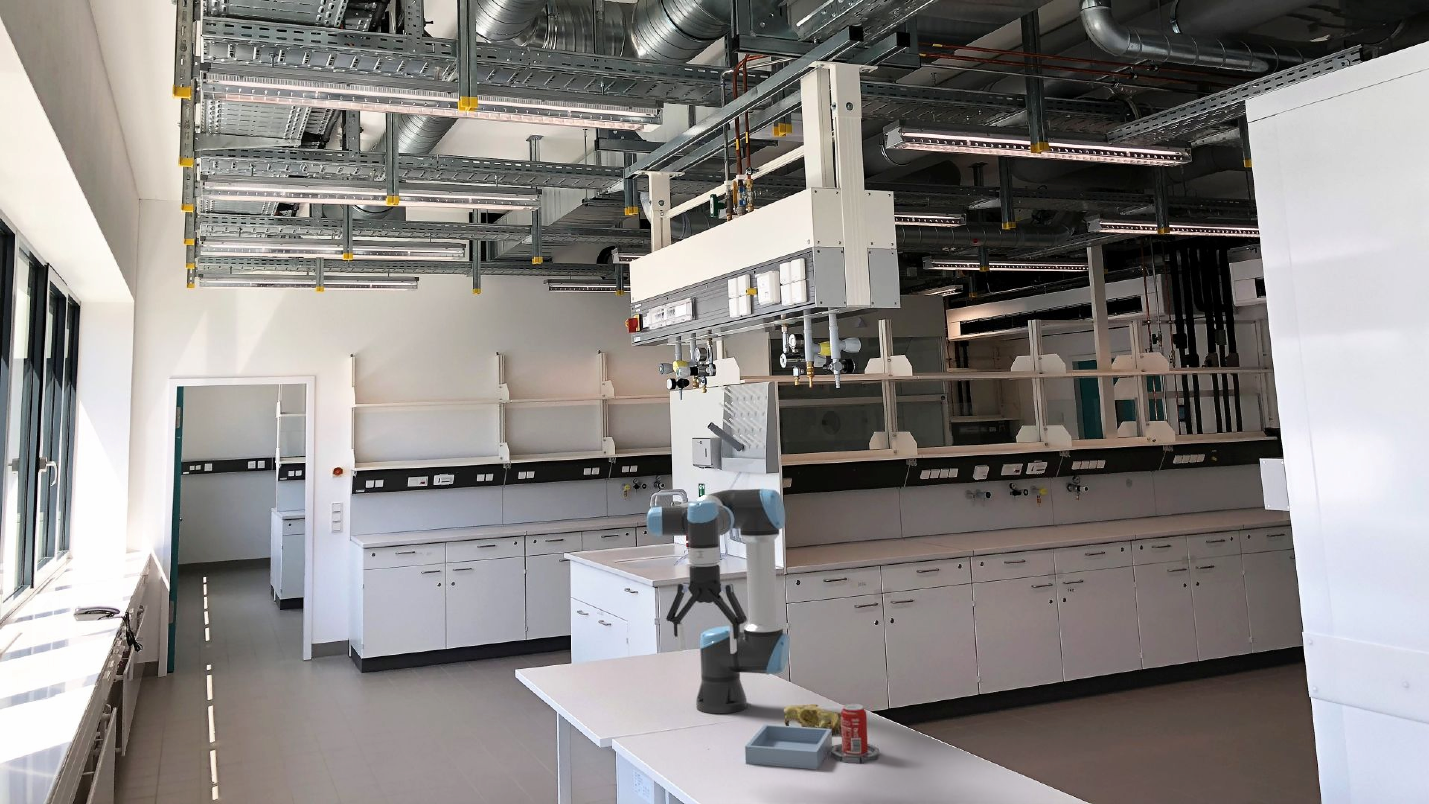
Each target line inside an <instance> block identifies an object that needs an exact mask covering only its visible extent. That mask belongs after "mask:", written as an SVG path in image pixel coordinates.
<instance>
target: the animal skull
mask: <svg viewBox="0 0 1429 804" xmlns="http://www.w3.org/2000/svg"><path fill="white" fill-rule="evenodd" d="M783 713H784V715H785V716H784V726H790V721H791V720H794V721H796V722H797V723H798V724H800V725H801V727H809V728H823V729H832V734H833V735H835V736H836V734H837V733H840V732H841V731H842V729H841V712H834V711H829V710H826V709H822V708H819V705H818V704H815V703H814V704H810V705H809V704H802V705H798V704H796V705H789V706H786V707H785V708H784V709H783Z"/></svg>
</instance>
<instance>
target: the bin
mask: <svg viewBox="0 0 1429 804" xmlns="http://www.w3.org/2000/svg"><path fill="white" fill-rule="evenodd" d="M832 746H833V733H832V729H823V728H809V727H802V726H792V725H791V726H790V725H789V726H786V725H778V724H777V725H776V724H763V725H762V727H761V728H760V729H759V730H758V731H757V732H756V733H755V735H754V736H753V737H752V738H751V739H750V740H749V742H748V743H747V744H746V745H745V746H744V749H745V750H744V753H745V755H744V756H745V764H751V765H759V766H760V765H761V766H774V767H785V768H787V767H788V768H797V769H798V768H799V769H811V770H818V769H819V768H820V766H821V765H822V763H823V761H824V759H825V758H826V756H827V754H828V753H829V751H831V749H832Z"/></svg>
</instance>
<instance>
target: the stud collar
mask: <svg viewBox="0 0 1429 804" xmlns="http://www.w3.org/2000/svg"><path fill="white" fill-rule="evenodd" d="M832 746H833V747H831V749H830V757H831V758H834V759H835V760H836V761H839V762H842V763H851V764H865V763H868V762H870V763H871V762H874V761H877V760H878V759H879V756H880V748H879V747H878V746H875V745H872V744H871V743H868V752H871V753H872V754H867V755H866V754H865V756H862V757H854V756H846V755H843V754H842V753H839V752H838V751H842V743H839V744H838V743H837V744H834V745H832Z"/></svg>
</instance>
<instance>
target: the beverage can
mask: <svg viewBox="0 0 1429 804" xmlns="http://www.w3.org/2000/svg"><path fill="white" fill-rule="evenodd" d="M840 714H841V720H840V724H841V744H842V750H841V751H842V753H843V754H844V756H854V757H862V756H866V754H867V753H868V752H869V750H868V744H869V743H868V726H867V725H868V722H867V721H868V720H867V711H866V710H865V708H864V705H862V704H859V703H847V704H843V706H842V709H841V711H840Z"/></svg>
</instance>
